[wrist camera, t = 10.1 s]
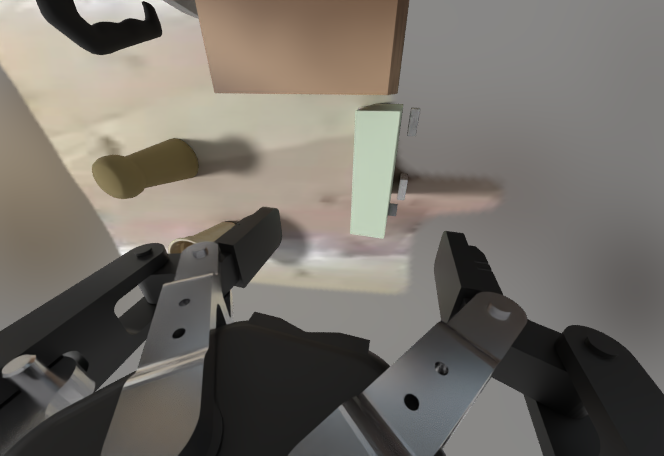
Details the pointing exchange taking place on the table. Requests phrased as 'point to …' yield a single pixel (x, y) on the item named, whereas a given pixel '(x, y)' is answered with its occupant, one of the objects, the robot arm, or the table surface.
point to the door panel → (374, 168)
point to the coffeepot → (107, 25)
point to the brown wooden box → (304, 45)
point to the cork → (145, 168)
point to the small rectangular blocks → (411, 132)
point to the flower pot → (200, 237)
